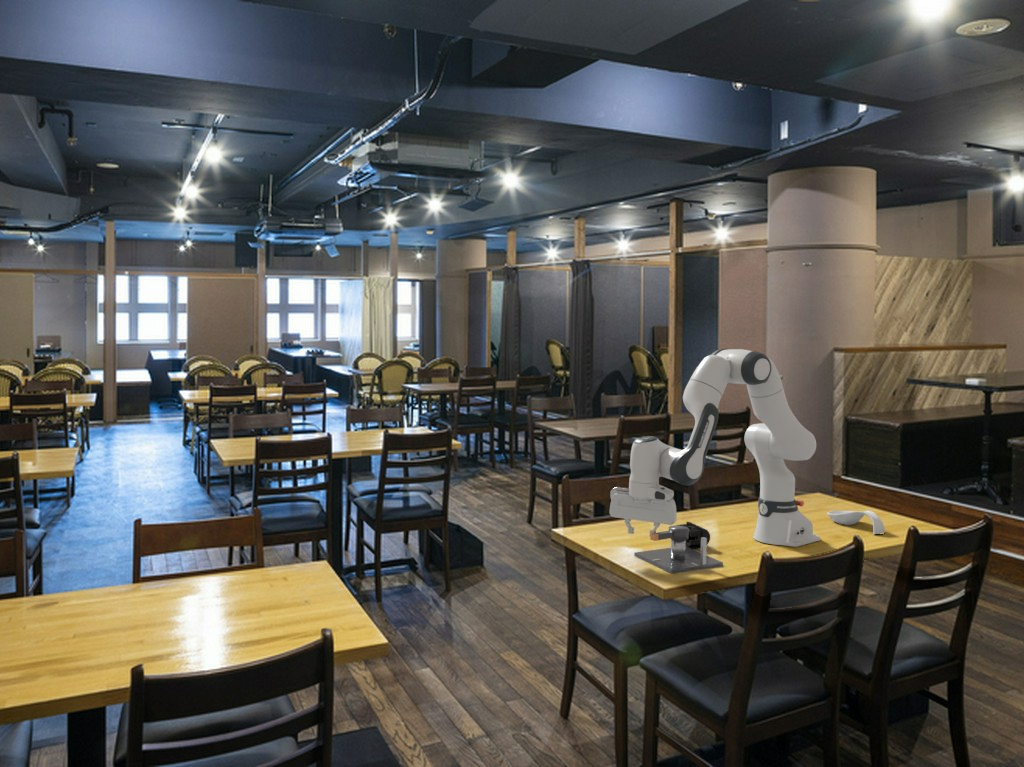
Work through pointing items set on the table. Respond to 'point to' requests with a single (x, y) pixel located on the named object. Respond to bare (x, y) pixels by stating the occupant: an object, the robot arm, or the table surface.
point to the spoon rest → (857, 519)
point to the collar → (672, 533)
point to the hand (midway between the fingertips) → (641, 534)
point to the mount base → (676, 563)
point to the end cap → (695, 535)
